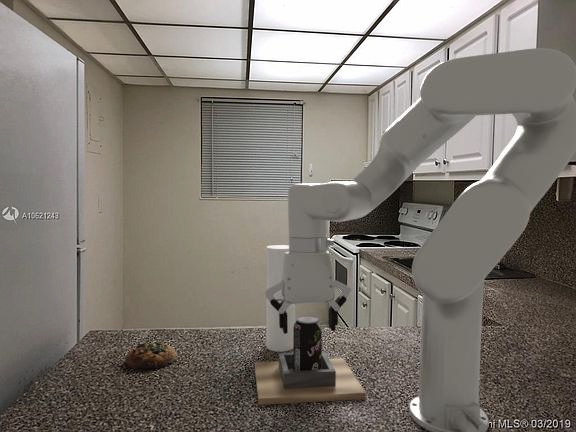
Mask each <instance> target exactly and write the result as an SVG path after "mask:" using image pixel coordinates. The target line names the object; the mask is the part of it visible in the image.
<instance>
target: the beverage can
mask: <svg viewBox="0 0 576 432" xmlns="http://www.w3.org/2000/svg"><path fill="white" fill-rule="evenodd" d="M322 333H323V326H322V324H321V322H320V318H319V317H318V316H315V315H312V314H311V315H310V314H308V315H307V314H305V315H299V316H297V317H296V320H295V324H294V327H293V349H292V353H293V371H304V370H321V360H322V347H323V346H322V342H323V339H322V338H323V334H322Z"/></svg>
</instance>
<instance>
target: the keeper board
mask: <svg viewBox="0 0 576 432" xmlns="http://www.w3.org/2000/svg"><path fill="white" fill-rule="evenodd" d="M254 372H255V373H254V375H255V383H256V384H255V385H256V393H257V402H258V406H265V405H280V404H282V405H283V404H299V403H316V402H317V403H318V402H330V401H331V402H332V401H335V402H336V401H349V400H351V401H352V400H365V399H366V391H365V389H364V388H363V386H362V385H361V384H360V382H359V380H358V378H357V377H356V376H355V374H354V372H353V371H352V369H351V368H350V366H349V365H348V363H347V361H346V360H345V358H343V357H342V358H341V357H340V358H339V357H338V358H329V356H328V354H327V353H326V351H324V350H323V351H322V360H321V370H304V371H293V352H280V353H278V361H277V360H274V361H254Z"/></svg>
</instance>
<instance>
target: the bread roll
mask: <svg viewBox="0 0 576 432" xmlns="http://www.w3.org/2000/svg"><path fill="white" fill-rule="evenodd" d="M177 356H178V353H177V352H176V350H175V348H173V347H172V346H170V345H169V344H167V343H164V342H163V343H162V342H159V341H156V342H143V343H139V344H138V345H136V348H135V347H133V348H132V349H131V350H130V351H129V352H128V353H127V354H126V356H125V361H124V362H125V364H126V365H127V366H128V367H129V368H130V369H134V370H136V371H137V370H139V371H153V370H155V369H160V368H163V367H166V366H168V364H169V363H170V364H172V363H174V362H175V361H176V360H177V359H176V358H177Z"/></svg>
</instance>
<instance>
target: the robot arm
mask: <svg viewBox="0 0 576 432" xmlns="http://www.w3.org/2000/svg"><path fill="white" fill-rule="evenodd" d="M575 90H576V64H575V62H574V61H573V59H572V58H571V57H570V56H569V55H567V53H564V52H562V51H560V50H558V49H554V48H546V47H539V48H538V47H537V48H528V49H527V48H526V49H518V50H511V51H504V52H503V51H502V52H496V53H494V52H493V53H487V54H479V55H478V54H477V55H470V56H464V57H462V56H461V57H458V58H453V59H448V60H445V61H443V62H441V63H439V64H437V65H435V66H433V67H432V68H431V69H430V70H429V71H428V72H427V73H426V74H425V76H424V78H423V80H422V82H421V85H420V90H419V91H420V92H419V93H420V95H419V96H420V98H418V99H417V100H416V102H414V103H413V104H412V105H411V106H410V107H409V108H407V110H406V111H405V112H404V113H402V115H400V116H399V117H398V118H397V119H395V121H394V122H393V123H392V124H391V125H390V126H389V127H387V128H386V129H385V131H384V132H383V134H382V136H381V139H380V143H379V147H378V151H377V153H376V155H375V156H374V158H373V159H372V160H371V162H370V163H369V164H368V165H367V166H366V167H365V168H364V169H363V170H362V171H361V172H359V174H357V175H356V176H355V177H354V178H353V179H352V180H350V181H347V180H343V181H342V180H340V181H339V180H338V181H337V180H335V181H328V182H324V183H312V182H311V183H307V182H306V183H295V184H292V185H290V186H289V188H288V192H287V194H288V195H287V200H288V201H287V202H288V203H287V206H288V207H287V209H288V211H287V212H288V214H287V216H288V245H289V252H285V255H284V262H283V274H282V281H281V282H279V283H277V284H276V285H274V286H272V287H270V288H268V289H267V290H266V289H265V290H264V294H265V296H267V298H268V300H269V302H270V303H271V305H272V306H273V307H274V308H275V309H276V310H277V311H278V312H279V327H280V328H282V329H283V332H284V334H287V333H288V324H287V312H286V310H287V308H288V307H289V306H290V305H291V304H295V305H298V304H299V305H301V304H321V303H328V304H329V308H328V310H327V311H328V327H329V329H330V330H331V331H332V332H336V326H338V325H339V311H340V309H341V307H342V306H343V305H344V304H345V303H346V302H347V298H348V297H349V295H350V293H351V291H352V288H351V287H350V286H348V285H346V284H344V283H342V282H340V281H338V280H335V279H334V269H333V264H332V263H333V262H332V258H331V257H332V256H331V253H330V251H329V250H328V248H330V247H333V246H334V245H335V244H334V243H335V242H334V238H333V239H332V238H331V239H330V238H328V236H327V221H329V222H334V223H335V222H337V223H338V222H339V223H342V222H347V221H352V220H358V219H361V218H363V217H365V216H367V215H368V214H369V213H371V212H372V211H373V210H374V209H376V208H378V206H379V205H381V203H383V202H384V201H385V200H387V198H389V197H390V196H391V195H392V194H393V193H394V192H395V191H396V190H397V189H398V188H399V187H400V186H401V185H402V184H403V183H404V182H405V181H406V180H407V179H408V178H409V177H410V176H411V175H412V174H413V173H414V172H415V170H416V169H418V167H419V166H420V165H422V163H424V162H425V161H426V160H427V159H428V158H430V157H431V156H432V155H433V154H435V152H436V151H438V150H439V149H440V148H441V147H442V146H444V145H445V144H446V143H447V142H448V141H449V140H451V139H452V138H453V137H454V136H455V135H457V133H459V132H460V131H461V130H463V128H464V127H466V126H467V125H468V124H469V123H470V122H471V121H472V120H473V119H474V118H476V116H495V115H497V116H498V115H510V114H511V115H512V116H513V117H514V119H515V121H516V124H517V126H516V131H515V134H514V136H513V137H512V138H511V140H510V142H508V144H507V145H506V147H504V149H503V150H502V151H501V153H500V155H499V157H497V160H496V161H495V162H494V163H493V165H491V167H490V169H488V171H487V172H486V174H484V176H483V177H482V178H481V180H478V181H475V182H474V183H472V184H471V185H469V186H467V188H465V189H464V191H463V192H461V194H459V195H458V197H457V198H456V200H455V201H454V202H453V203H452V205H451V206H450V208H448V210H447V211H446V213H445V214H444V215H443V216H442V219H441V220H440V221H439V222H438V224H437V225H436V227H435V228H434V229H433V230H432V232H431V233H430V234H429V236H428V237H427V238H426V240H425V241H424V243H423V244H422V245H421V246H420V247H419V249H418V250H417V252H416V254H415V255H414V258H413V261H412V264H411V275H412V279H413V282H414V285H415V287H416V288H417V290H418V291H419V292H420V293H421V295H422V298H421V299H422V301H421V313H420V314H421V316H420V338H419V339H420V342H419V343H420V344H419V346H420V348H419V351H420V352H419V384H418V396H416V397H414V398H412V399H411V401H409V411H408V412H409V415H410V417H411V418H412V420H413V421H414V422H415V423H416V424H417V425H419V426H420V427H421V428H423V429H425V430H427V431H428V432H487V431H488V429H489V421H490V420H489V416H488V414H487V413H486V412H485V411H484V410H483V408H481V405H480V404H479V402H480V401H479V400H480V372H481V346H482V340H481V339H482V331H483V330H482V328H483V327H482V325H483V304H484V303H483V301H484V289H485V288H484V287H485V279H486V277H487V276H489V274H490V273H491V271H492V270H493V269H494V268H495V267H496V266H497V264H499V262H500V261H501V260H502V259H503V257H504V256H505V255H506V254H507V252H508V251H509V250H510V249H511V248H512V247H513V245H514V244H515V243H516V242H517V240H518V239H519V238H520V236H522V234H523V232H524V231H525V229H526V227H527V226H528V225H529V224H528V223H529V221H530V216H531V213H532V211H533V210H534V208H535V207H536V206H537V205H538V204H539V202H540V201H541V199H542V198H544V196H545V194H547V192H548V191H549V189H550V188H551V187H552V185H553V183H555V181H556V180H557V178H558V177H559V176H560V175H561V173H563V171H564V169H565V168H566V167H567V165H568V164H569V163H570V161H571V160H572V158H573V156H574V154H575V153H576V100H575V98H574V96H573V94H574V92H575ZM335 288H336V289H338V290H340V291H341V292H340V295H339V296H337V298H336V299H334V298H335ZM280 290H282V295H283V297H284V298H283V300H282V301H281V302H280V303H279V302H278V301H277V300H276V299H275V298H274V294H275V293H276V292H278V291H280Z"/></svg>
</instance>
